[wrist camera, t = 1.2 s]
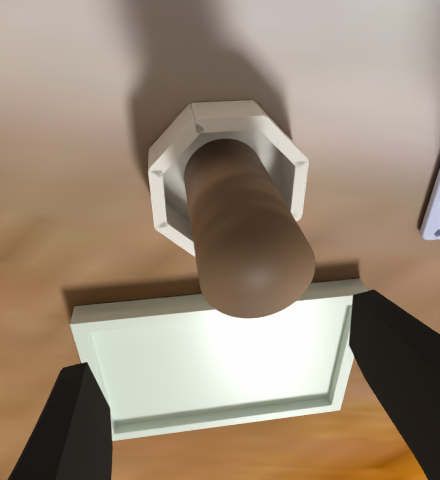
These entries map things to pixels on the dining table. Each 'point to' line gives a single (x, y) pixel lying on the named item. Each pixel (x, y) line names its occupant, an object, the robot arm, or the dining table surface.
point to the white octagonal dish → (208, 129)
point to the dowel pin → (243, 233)
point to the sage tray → (216, 360)
